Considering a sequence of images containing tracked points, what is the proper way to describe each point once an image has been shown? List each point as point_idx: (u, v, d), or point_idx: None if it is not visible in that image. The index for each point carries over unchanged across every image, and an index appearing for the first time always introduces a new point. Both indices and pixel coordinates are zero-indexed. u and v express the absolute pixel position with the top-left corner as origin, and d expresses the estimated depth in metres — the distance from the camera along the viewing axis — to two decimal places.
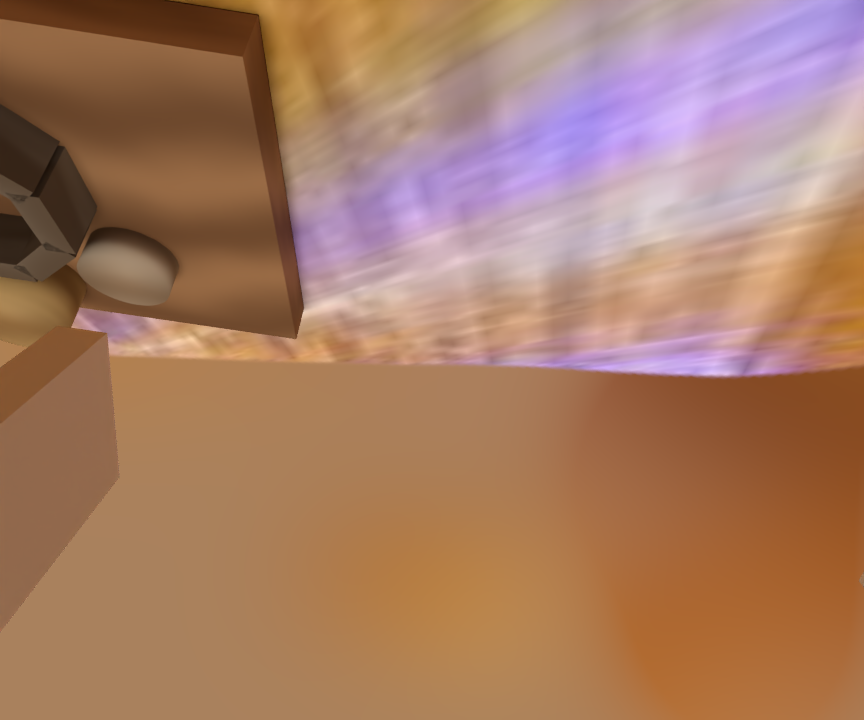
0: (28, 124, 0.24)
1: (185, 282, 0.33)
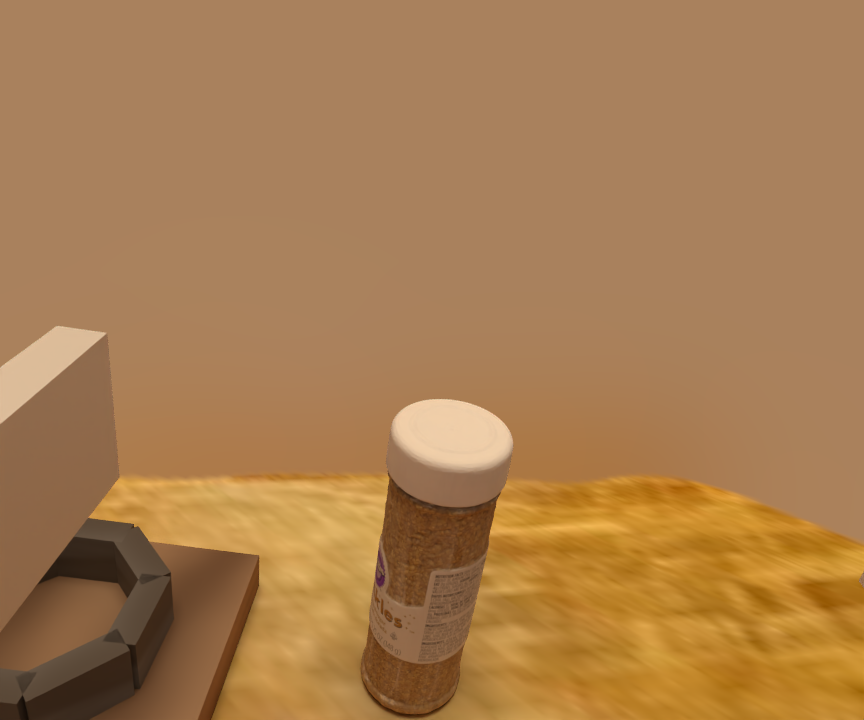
0: None
1: None
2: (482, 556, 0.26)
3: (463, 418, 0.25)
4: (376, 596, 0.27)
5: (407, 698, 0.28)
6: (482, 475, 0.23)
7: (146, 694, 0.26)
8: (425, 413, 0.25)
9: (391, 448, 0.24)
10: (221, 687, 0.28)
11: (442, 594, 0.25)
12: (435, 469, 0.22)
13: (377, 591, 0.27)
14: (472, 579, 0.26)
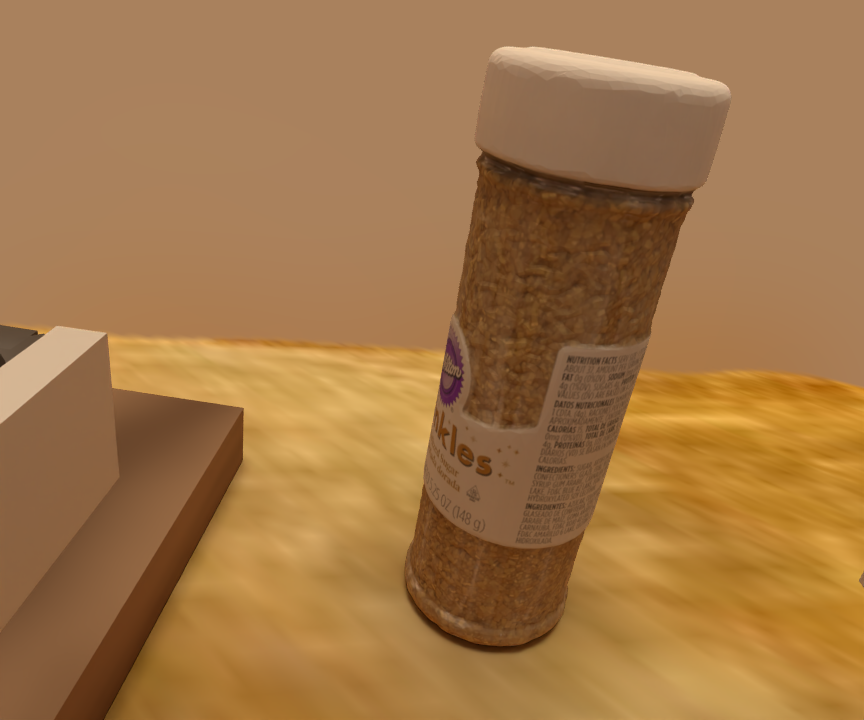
0: None
1: None
2: (646, 339, 0.14)
3: None
4: (441, 427, 0.15)
5: (489, 616, 0.16)
6: (692, 110, 0.11)
7: None
8: (550, 51, 0.13)
9: (492, 87, 0.12)
10: (169, 592, 0.17)
11: (574, 402, 0.13)
12: (596, 84, 0.11)
13: (444, 416, 0.15)
14: (626, 382, 0.14)
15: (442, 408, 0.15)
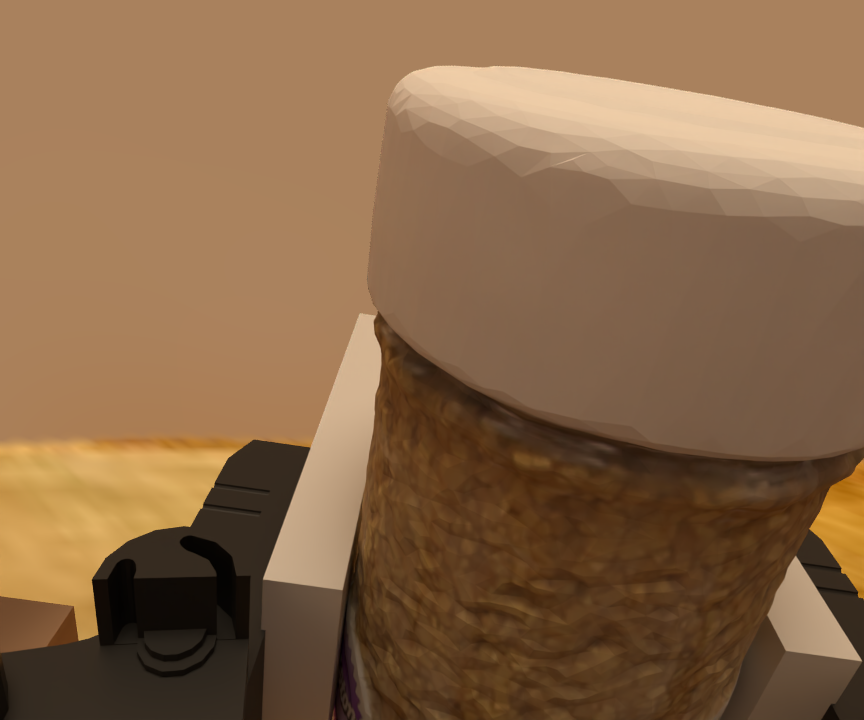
0: None
1: None
2: (738, 671, 0.07)
3: (694, 102, 0.06)
4: None
5: None
6: None
7: None
8: (536, 75, 0.06)
9: (390, 173, 0.05)
10: None
11: None
12: (672, 198, 0.03)
13: None
14: None
15: None
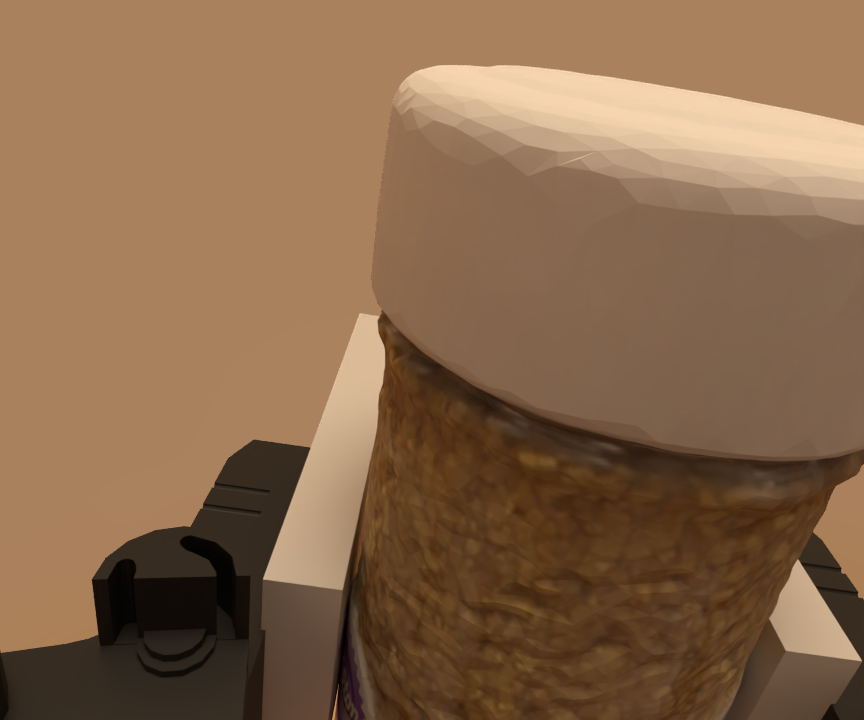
0: None
1: None
2: (742, 671, 0.07)
3: (698, 101, 0.06)
4: None
5: None
6: None
7: None
8: (540, 74, 0.06)
9: (395, 172, 0.05)
10: None
11: None
12: (681, 196, 0.03)
13: None
14: None
15: None
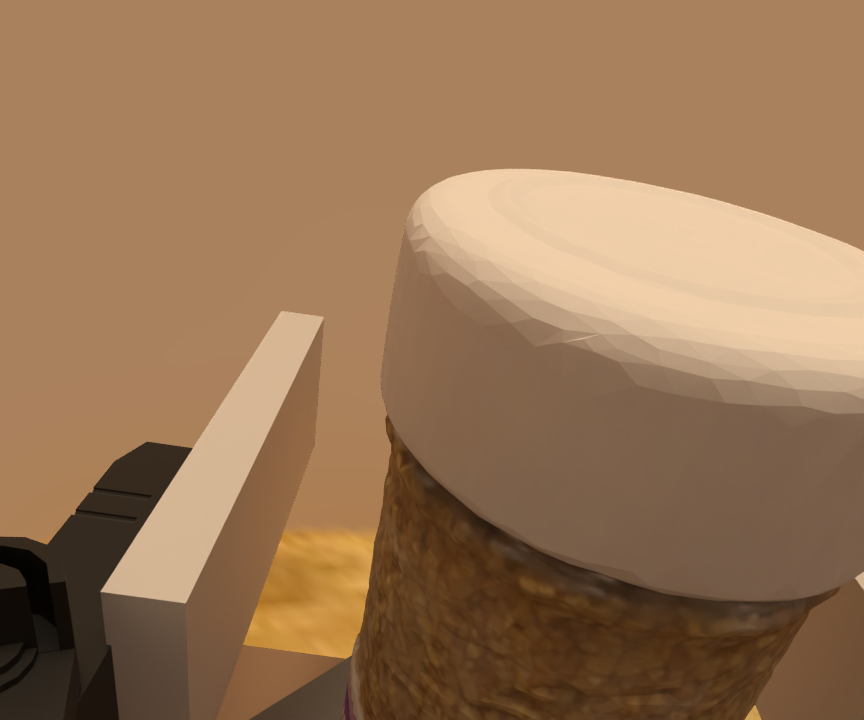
0: None
1: None
2: None
3: (697, 215, 0.06)
4: None
5: None
6: None
7: None
8: (546, 187, 0.06)
9: (407, 302, 0.05)
10: None
11: None
12: (675, 383, 0.04)
13: None
14: None
15: None
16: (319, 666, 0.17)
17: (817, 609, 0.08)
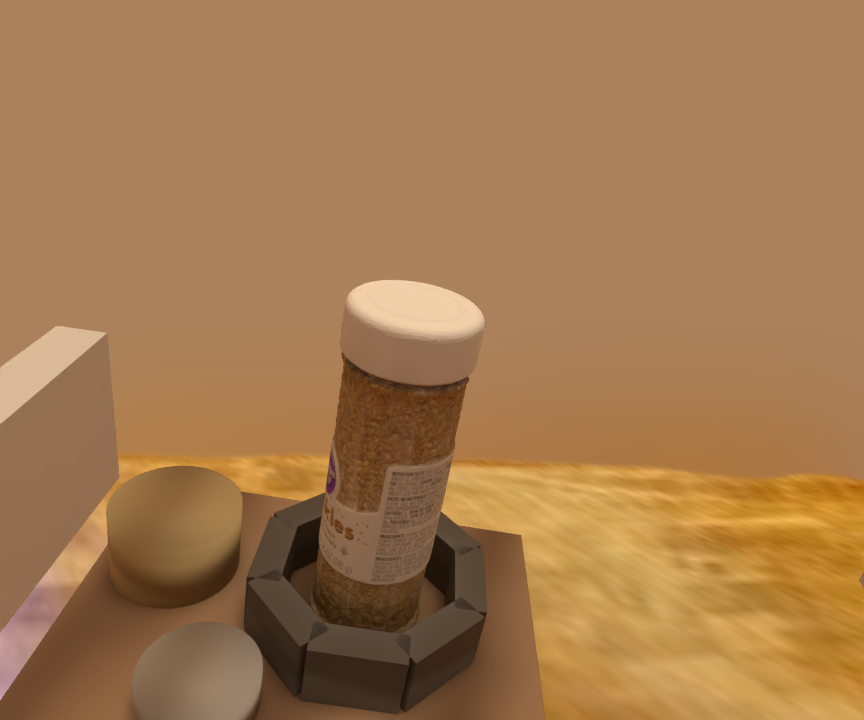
0: (428, 694, 0.24)
1: None
2: (447, 457, 0.23)
3: (429, 296, 0.22)
4: (326, 506, 0.24)
5: None
6: (448, 346, 0.20)
7: (482, 664, 0.25)
8: (386, 288, 0.22)
9: (345, 320, 0.21)
10: None
11: (399, 497, 0.22)
12: (393, 334, 0.19)
13: (327, 500, 0.24)
14: (434, 483, 0.23)
15: (326, 495, 0.24)
16: None
17: None
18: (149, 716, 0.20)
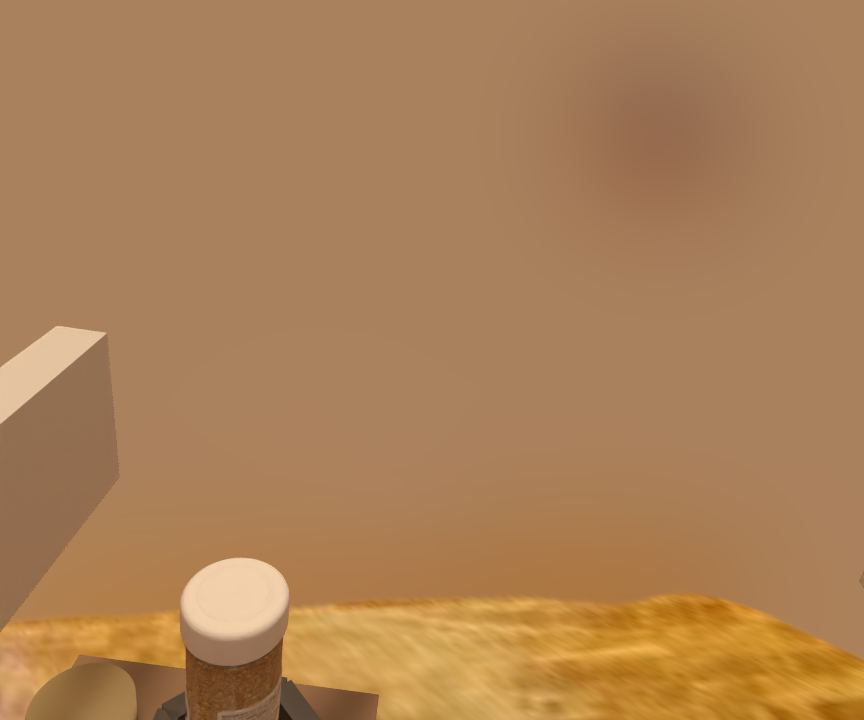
0: None
1: None
2: (269, 695, 0.30)
3: (249, 580, 0.29)
4: None
5: None
6: (248, 641, 0.27)
7: None
8: (216, 576, 0.29)
9: (180, 611, 0.28)
10: None
11: None
12: (206, 637, 0.27)
13: None
14: (259, 715, 0.30)
15: (185, 715, 0.31)
16: None
17: None
18: None
